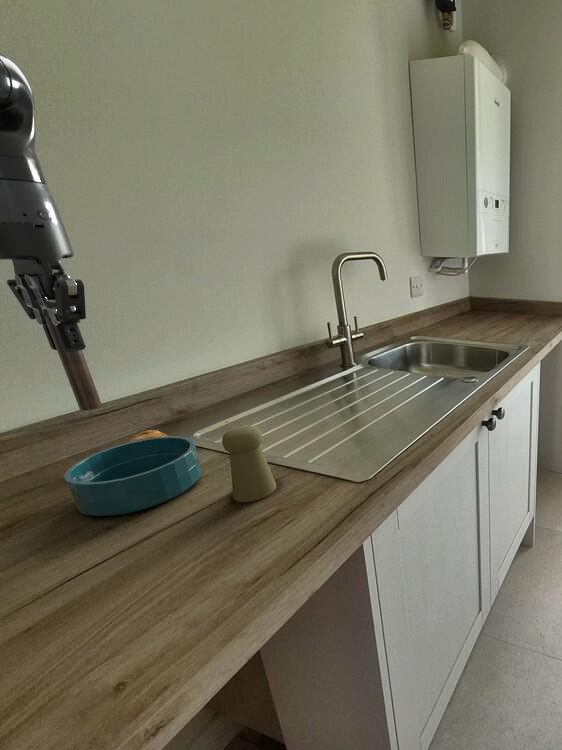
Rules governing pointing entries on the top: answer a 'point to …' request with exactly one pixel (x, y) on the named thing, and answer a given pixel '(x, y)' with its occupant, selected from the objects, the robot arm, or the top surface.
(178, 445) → the bowl
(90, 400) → the stirring stick
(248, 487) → the cork
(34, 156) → the robot arm
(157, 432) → the pastry
